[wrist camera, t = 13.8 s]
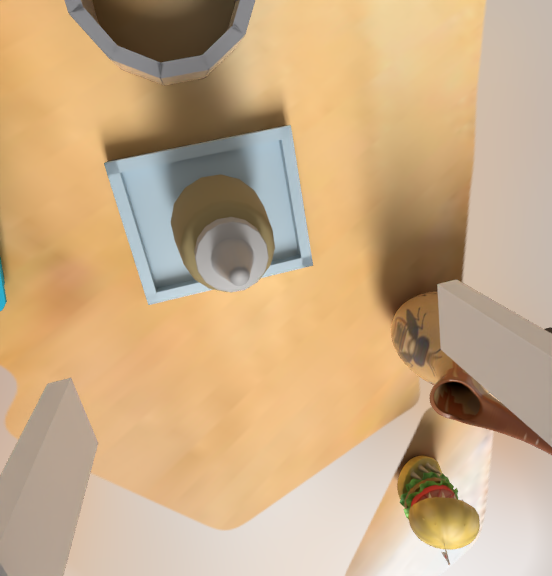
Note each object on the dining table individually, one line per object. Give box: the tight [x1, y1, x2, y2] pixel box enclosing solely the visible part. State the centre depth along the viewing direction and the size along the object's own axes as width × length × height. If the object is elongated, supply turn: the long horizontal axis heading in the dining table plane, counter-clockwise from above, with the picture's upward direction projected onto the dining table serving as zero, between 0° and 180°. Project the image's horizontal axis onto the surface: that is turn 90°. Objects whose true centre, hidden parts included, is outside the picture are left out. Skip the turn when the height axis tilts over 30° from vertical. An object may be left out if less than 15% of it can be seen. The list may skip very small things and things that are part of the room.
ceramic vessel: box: [391, 291, 552, 455], centre depth 39 cm, size 16×9×25 cm, turn 82°
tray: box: [104, 125, 313, 305], centre depth 42 cm, size 16×13×2 cm
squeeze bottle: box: [171, 174, 275, 292], centre depth 33 cm, size 8×8×18 cm
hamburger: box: [397, 456, 480, 565], centre depth 53 cm, size 8×7×12 cm
